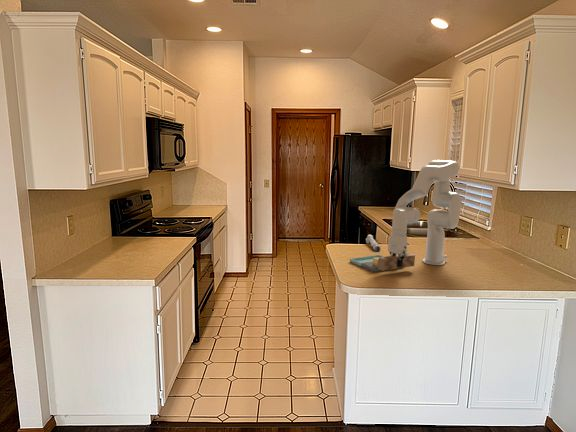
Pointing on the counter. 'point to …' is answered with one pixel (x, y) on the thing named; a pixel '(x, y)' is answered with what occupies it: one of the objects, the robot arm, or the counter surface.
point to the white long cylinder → (372, 243)
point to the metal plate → (370, 266)
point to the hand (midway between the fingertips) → (396, 265)
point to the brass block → (375, 261)
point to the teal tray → (363, 259)
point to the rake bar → (395, 262)
